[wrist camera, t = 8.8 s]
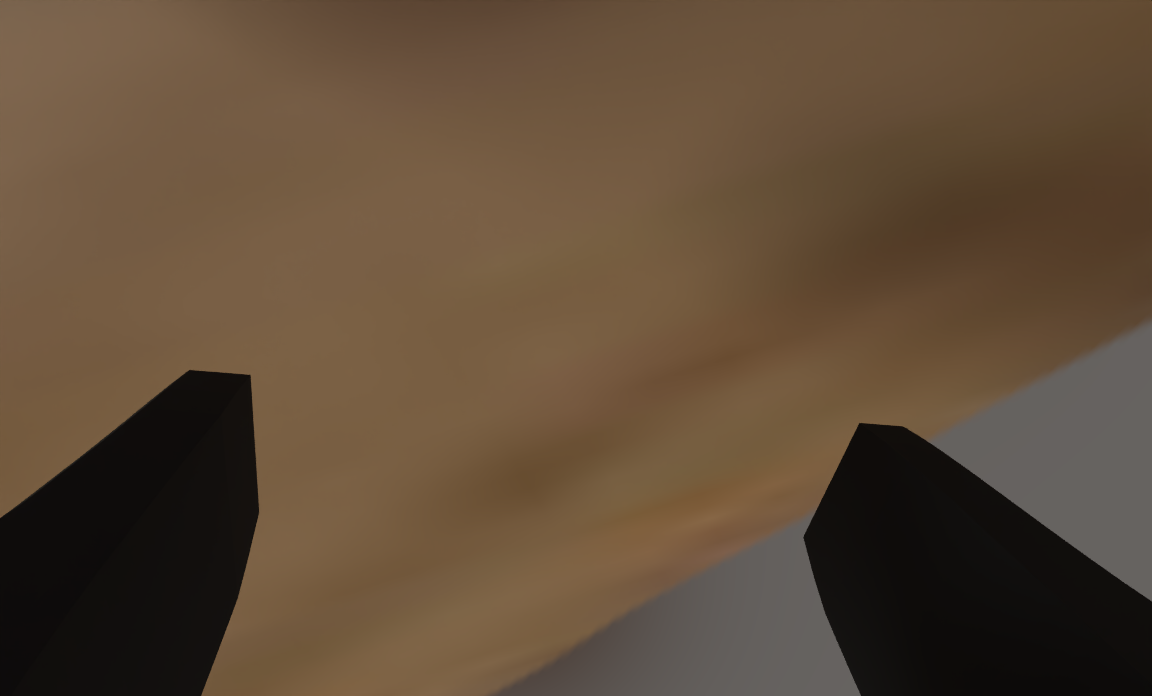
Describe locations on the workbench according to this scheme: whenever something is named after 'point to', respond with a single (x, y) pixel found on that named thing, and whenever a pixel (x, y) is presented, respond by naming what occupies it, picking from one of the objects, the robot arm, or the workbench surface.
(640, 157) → the workbench surface
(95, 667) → the robot arm
